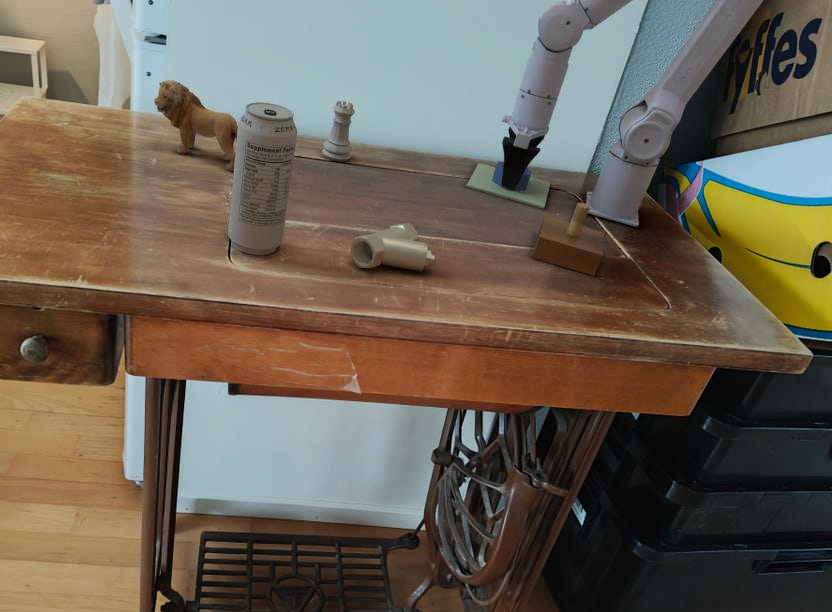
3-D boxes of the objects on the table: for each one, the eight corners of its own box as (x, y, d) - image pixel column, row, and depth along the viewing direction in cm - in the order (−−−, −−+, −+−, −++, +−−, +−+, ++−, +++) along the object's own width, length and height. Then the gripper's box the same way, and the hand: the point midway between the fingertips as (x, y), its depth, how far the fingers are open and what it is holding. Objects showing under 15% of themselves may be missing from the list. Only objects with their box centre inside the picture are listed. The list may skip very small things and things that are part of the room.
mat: (478, 165, 119) (478, 162, 119) (549, 185, 118) (550, 182, 117) (466, 187, 110) (466, 184, 109) (543, 209, 108) (544, 206, 108)
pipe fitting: (434, 273, 85) (391, 245, 87) (444, 244, 82) (400, 216, 85) (391, 290, 79) (347, 260, 82) (401, 260, 77) (355, 230, 80)
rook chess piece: (347, 164, 108) (357, 110, 104) (318, 157, 108) (327, 103, 104) (352, 155, 112) (362, 103, 108) (324, 148, 112) (332, 96, 108)
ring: (494, 173, 116) (499, 158, 115) (527, 183, 115) (532, 168, 114) (490, 183, 112) (494, 168, 110) (524, 193, 111) (529, 178, 109)
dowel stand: (537, 235, 99) (554, 186, 95) (595, 252, 98) (615, 204, 94) (531, 257, 92) (550, 206, 88) (594, 276, 91) (615, 225, 87)
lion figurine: (146, 147, 99) (148, 80, 94) (165, 138, 104) (168, 73, 99) (245, 176, 97) (252, 109, 92) (261, 165, 102) (268, 100, 97)
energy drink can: (279, 235, 84) (296, 105, 76) (283, 259, 80) (302, 123, 71) (226, 230, 83) (238, 97, 75) (227, 254, 78) (240, 115, 70)
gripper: (517, 76, 112) (492, 161, 120) (506, 95, 100) (478, 188, 108) (562, 88, 111) (533, 173, 119) (556, 108, 99) (524, 201, 107)
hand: (510, 181), depth 113 cm, fingers closed on ring, 5 cm apart
